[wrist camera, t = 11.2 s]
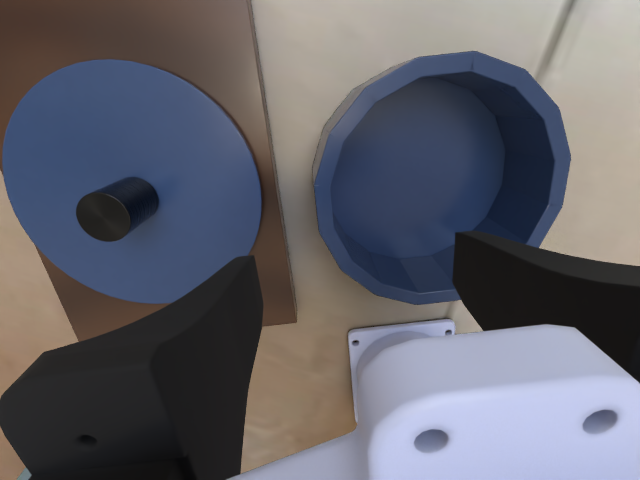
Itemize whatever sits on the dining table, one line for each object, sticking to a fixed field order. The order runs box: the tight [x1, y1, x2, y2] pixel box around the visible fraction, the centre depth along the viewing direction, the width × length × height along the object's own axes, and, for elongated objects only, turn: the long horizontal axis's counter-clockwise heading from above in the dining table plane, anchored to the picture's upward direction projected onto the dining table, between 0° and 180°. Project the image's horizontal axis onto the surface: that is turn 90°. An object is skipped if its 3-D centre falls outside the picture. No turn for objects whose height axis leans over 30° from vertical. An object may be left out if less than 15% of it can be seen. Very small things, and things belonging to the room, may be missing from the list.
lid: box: [2, 59, 262, 304], centre depth 18 cm, size 14×14×4 cm
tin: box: [312, 51, 571, 305], centre depth 19 cm, size 13×13×5 cm
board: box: [0, 0, 297, 342], centre depth 21 cm, size 20×15×2 cm
